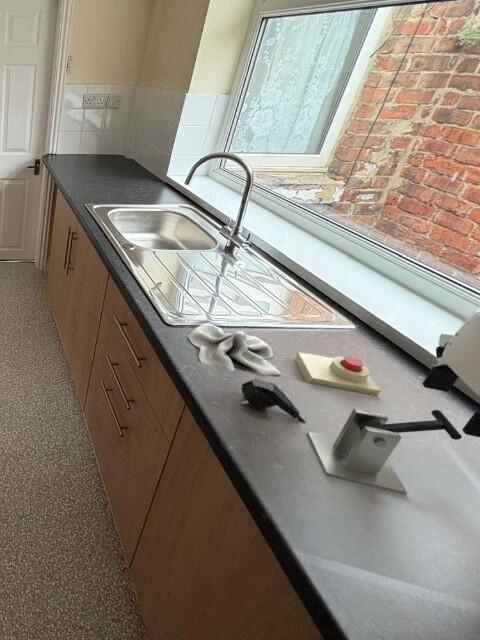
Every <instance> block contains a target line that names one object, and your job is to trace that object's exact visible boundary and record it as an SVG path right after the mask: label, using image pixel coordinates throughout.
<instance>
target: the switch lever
mask: <svg viewBox="0 0 480 640" xmlns="http://www.w3.org/2000/svg"><path fill="white" fill-rule="evenodd" d="M430 414H431V415H432V416H433V418H434V419H432V420H418V421H407V422H396V423H395V422H393V423H385V424H381V422H380V421H379V419H371V420H360V421H358V425H359V428H360V431H361V432H362V431H363V429H364V427H365V426H367V427H372V428H376V429H381V430H386V431H391V432H395V433H399V434H400V433H401V434H402V433H413V432H429V431H443V430H444V431H445V433H446V434H447V435H448V436H449V437H450V439H452V440H456V441H457V440H460V439H462V438H463V435H462V434H461V433H460V432H459V431H458V429H456V427H455V426H454V425H453V424H452V422H450V420H449V419H448V418H447V417H446V416H445V414H444V413H443V412H442V410H440V409H433V410H432V411H431V413H430Z"/></svg>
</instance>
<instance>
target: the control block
mask: <svg viewBox="0 0 480 640" xmlns="http://www.w3.org/2000/svg"><path fill="white" fill-rule="evenodd" d="M344 357H345V356H342V355H341V356H334V357H328V356H322V355H317V354H312V353H305V352H301V351H298V352H297V354H296V356H295V358H294V360H295V362H296V363H297V366H298V368H299V370H300V372H301V373H302V375H303V377H304V379H305V381H306V383H307V384H311V385H316V386H320V387H321V386H322V387H326V388H330V389H331V388H332V389H337V390H343V391H347V392H353V393H357V394H362V395H368V396H373V397H379V394H380V393H381V390H380V388H379V387H378V385H377V383H375V381H374V379H373V378H372V377H371V376H370V373H371V370H369V368H368V366H366V365H365V364H363V366H362V368H361V370H360V371H359V372H354V371H350V370H348V369H346V368H344V367H343V366H342V365H341V363H342V361H343V359H344Z"/></svg>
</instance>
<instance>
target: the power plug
mask: <svg viewBox="0 0 480 640" xmlns="http://www.w3.org/2000/svg"><path fill="white" fill-rule="evenodd" d="M240 388H241V389H240V390H241V393H242V396H243V397H244V399H245V400H244V401H241V404H242V405H244V406H248V405H250V406H251V407H252V408H254V409H255V410H256V411H259V412H261V411H264V410H267V409H269V408H272V407H275V406H277V407H279V408H280V409H281V410H282V411H284V412H285V413H286V414H287V415H289V416H291V417H292V418H293V419H297V420H298V421H299V422H301V423H304V424H306V423H307V420H306V421H305V419H303V417H302V416H301V415H300V411H299V410H298V408H297V407H296V406H295V405H294V404H293V402H292V401H291V400H290V399H289V397H288V396H287V395H286V394H285V393H284V391H283V390H281V389H280V388H279V387H278V386H277V384H275V383H274V382H272V381H270V382H268V381H264V380H262V379H258V378H254V379H251V380H248V381H246V382H244V383H242V384H241V387H240Z"/></svg>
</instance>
